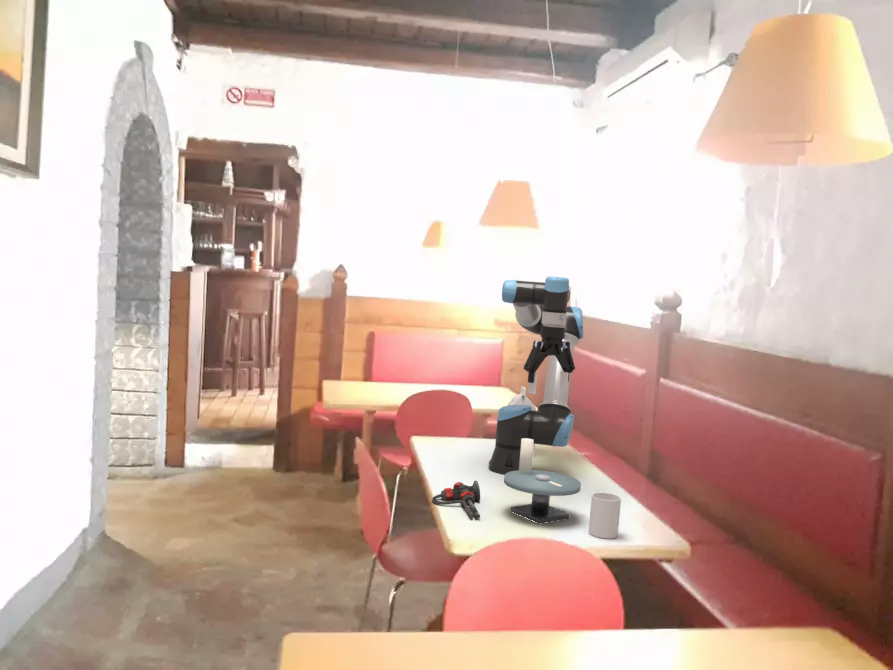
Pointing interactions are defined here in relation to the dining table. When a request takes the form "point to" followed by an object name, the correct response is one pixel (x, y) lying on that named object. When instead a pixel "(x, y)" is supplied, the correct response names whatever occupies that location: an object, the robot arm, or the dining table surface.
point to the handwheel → (539, 477)
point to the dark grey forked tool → (461, 496)
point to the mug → (604, 515)
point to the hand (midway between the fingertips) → (547, 392)
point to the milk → (523, 400)
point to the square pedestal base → (540, 510)
